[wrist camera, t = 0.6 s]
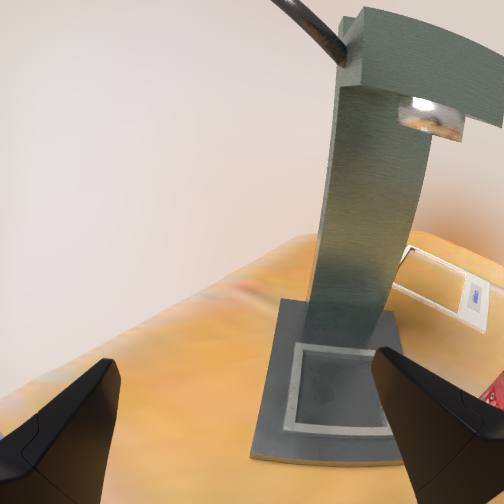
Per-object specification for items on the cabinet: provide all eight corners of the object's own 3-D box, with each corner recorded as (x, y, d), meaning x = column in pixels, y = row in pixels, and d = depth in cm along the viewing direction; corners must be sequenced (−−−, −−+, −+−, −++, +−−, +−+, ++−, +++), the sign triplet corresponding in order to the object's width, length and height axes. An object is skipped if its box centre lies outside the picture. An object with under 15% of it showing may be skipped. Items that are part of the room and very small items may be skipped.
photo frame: (486, 330, 29) (383, 278, 39) (482, 336, 30) (381, 285, 40) (490, 282, 39) (409, 243, 49) (487, 287, 39) (407, 248, 49)
